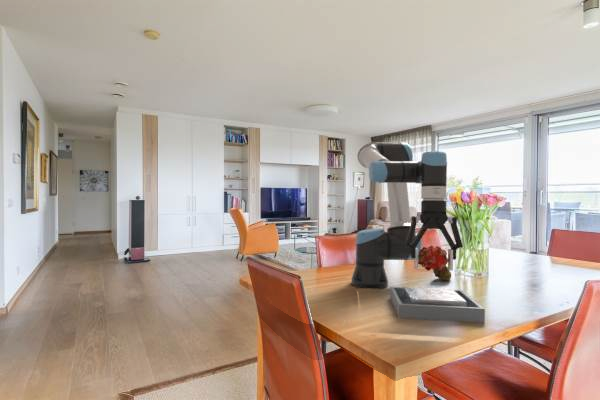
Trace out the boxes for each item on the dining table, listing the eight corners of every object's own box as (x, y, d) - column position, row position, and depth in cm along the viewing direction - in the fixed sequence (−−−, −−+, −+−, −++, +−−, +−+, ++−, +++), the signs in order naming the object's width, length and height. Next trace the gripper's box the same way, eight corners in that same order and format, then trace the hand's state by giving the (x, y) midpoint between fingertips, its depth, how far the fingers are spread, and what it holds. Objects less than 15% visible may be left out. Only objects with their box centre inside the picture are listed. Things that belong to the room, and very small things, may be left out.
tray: (398, 321, 101) (398, 304, 101) (390, 300, 121) (390, 286, 120) (484, 326, 97) (484, 308, 97) (461, 304, 117) (461, 290, 117)
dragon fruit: (415, 276, 106) (442, 278, 111) (434, 264, 100) (462, 266, 106) (406, 252, 111) (433, 255, 116) (424, 239, 105) (451, 242, 110)
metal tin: (410, 315, 103) (410, 298, 103) (403, 301, 117) (403, 286, 117) (466, 318, 101) (466, 301, 101) (452, 303, 115) (452, 288, 115)
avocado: (458, 280, 152) (459, 262, 152) (444, 284, 144) (444, 265, 144) (441, 276, 159) (441, 259, 159) (426, 280, 151) (426, 262, 151)
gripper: (399, 199, 107) (398, 270, 107) (475, 200, 103) (474, 272, 103) (396, 199, 114) (395, 265, 114) (466, 200, 111) (466, 267, 111)
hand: (433, 269), depth 109 cm, fingers closed on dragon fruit, 10 cm apart
